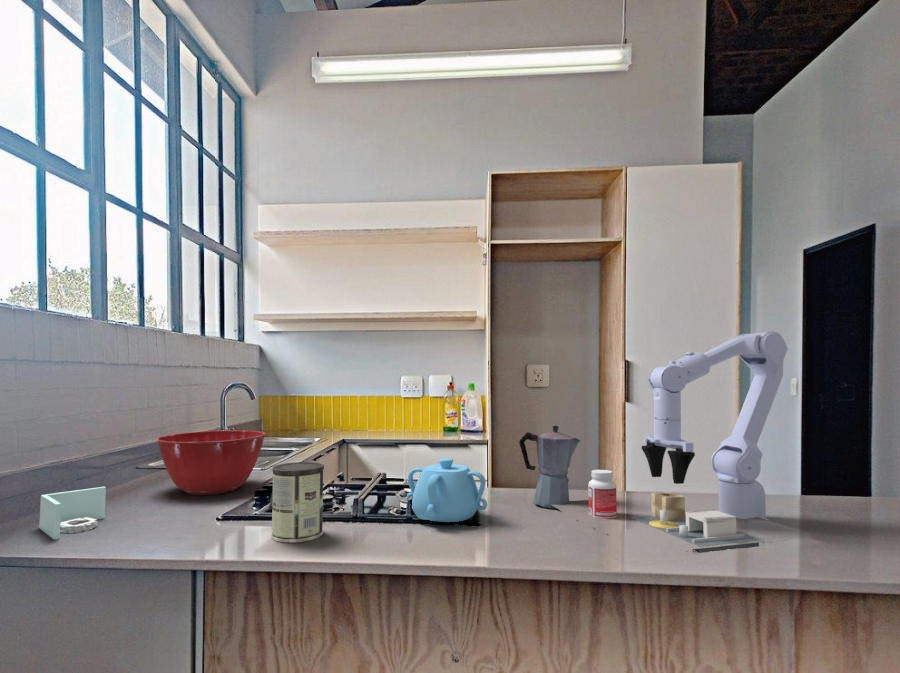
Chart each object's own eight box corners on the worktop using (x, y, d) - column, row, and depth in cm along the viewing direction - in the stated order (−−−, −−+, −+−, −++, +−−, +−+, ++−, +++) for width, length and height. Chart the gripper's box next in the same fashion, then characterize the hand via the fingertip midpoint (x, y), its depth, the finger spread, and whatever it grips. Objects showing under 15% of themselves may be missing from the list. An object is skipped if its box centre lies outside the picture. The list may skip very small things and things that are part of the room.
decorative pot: (492, 525, 123) (492, 463, 123) (422, 531, 117) (423, 466, 118) (466, 508, 138) (466, 452, 139) (403, 513, 133) (403, 455, 133)
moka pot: (585, 510, 136) (584, 427, 137) (522, 509, 136) (521, 427, 137) (576, 501, 145) (576, 423, 147) (517, 500, 146) (517, 423, 147)
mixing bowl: (129, 499, 145) (131, 439, 146) (196, 478, 173) (198, 428, 174) (229, 504, 140) (231, 442, 141) (281, 482, 168) (282, 430, 169)
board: (681, 517, 130) (681, 499, 130) (758, 546, 108) (758, 524, 109) (629, 521, 125) (629, 503, 126) (699, 552, 104) (698, 529, 105)
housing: (713, 526, 116) (713, 509, 117) (736, 535, 111) (735, 516, 111) (685, 529, 114) (685, 511, 115) (707, 538, 109) (706, 519, 109)
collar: (670, 513, 128) (669, 491, 128) (685, 519, 123) (684, 496, 124) (651, 515, 127) (651, 493, 127) (666, 521, 122) (665, 497, 122)
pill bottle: (622, 521, 126) (621, 471, 127) (604, 525, 123) (603, 474, 123) (601, 515, 131) (600, 467, 132) (582, 519, 128) (582, 470, 128)
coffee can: (290, 526, 121) (292, 460, 122) (332, 531, 117) (333, 463, 118) (259, 539, 111) (261, 468, 112) (304, 545, 108) (305, 471, 109)
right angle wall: (53, 542, 110) (55, 504, 111) (39, 530, 119) (40, 495, 119) (121, 530, 119) (122, 494, 120) (103, 519, 127) (104, 486, 128)
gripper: (632, 416, 132) (632, 474, 131) (673, 422, 118) (674, 487, 117) (657, 416, 134) (657, 473, 133) (701, 422, 120) (701, 485, 119)
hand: (667, 480), depth 125 cm, fingers open, 7 cm apart
